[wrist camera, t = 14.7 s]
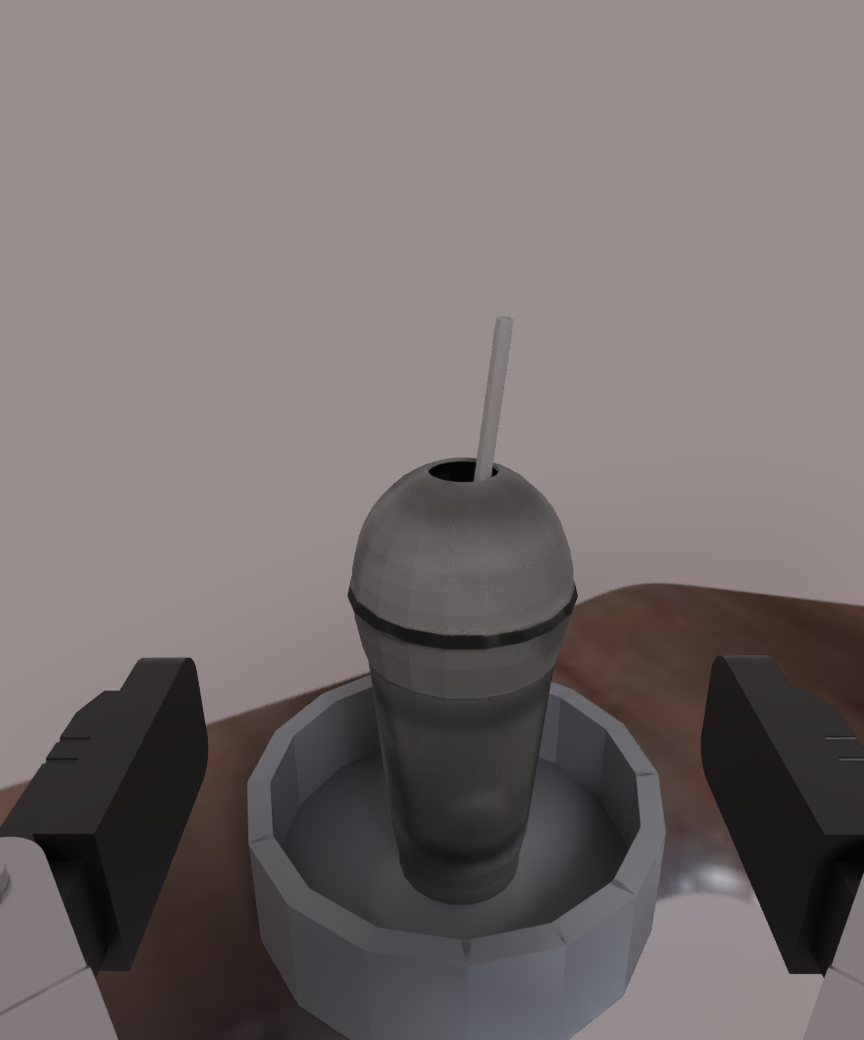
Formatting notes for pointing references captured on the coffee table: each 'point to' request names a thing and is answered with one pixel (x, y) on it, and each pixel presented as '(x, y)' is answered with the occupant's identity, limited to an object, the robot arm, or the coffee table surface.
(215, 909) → the coffee table surface
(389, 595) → the beverage cup
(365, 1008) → the bowl
